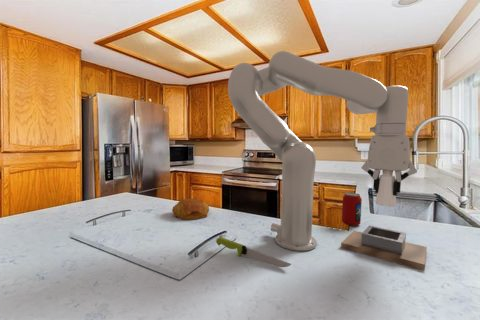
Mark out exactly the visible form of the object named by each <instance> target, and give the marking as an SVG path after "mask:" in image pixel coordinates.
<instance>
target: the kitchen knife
mask: <svg viewBox="0 0 480 320" xmlns="http://www.w3.org/2000/svg"><path fill="white" fill-rule="evenodd" d="M215 243H216V244H217V245H218V246H220V245H222V246H224V247H225V248H227V249H230V250H236V251H237V257H245V258H248V259H251V260H254V261H258V262H260V263H264V264H266V265H271V266H273V267H276V268H278V267H279V268H287V267H290V266H291V265H292V263H290V262H288V261H284V260H282V259H279V258H277V257H276V258H275V257H273V256H270V255H267V254H265V253H262V252H259V251H256V250H255V249H252V248H249V247H247V246H246V245H243V244H241V243H239V242H236V241H234V240H233V241H232V240H230V239H227V238H226V237H222V236H221V237H220V236H219V237H218V238H216V241H215Z"/></svg>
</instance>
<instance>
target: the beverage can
mask: <svg viewBox="0 0 480 320" xmlns="http://www.w3.org/2000/svg"><path fill="white" fill-rule="evenodd" d="M362 201H363V200H362V196H361V195H360V194H359V193H356V192H345V193H344V195H343V196H342V205H341V207H342V209H341V222H342V223H343V224H345V225H347V226H351V227H357V226H359V225H361V221H362V217H361V216H362Z"/></svg>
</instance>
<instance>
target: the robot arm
mask: <svg viewBox="0 0 480 320" xmlns="http://www.w3.org/2000/svg"><path fill="white" fill-rule="evenodd" d="M287 86H290V87H293V88H294V89H297V90H299V91H302V92H304V93H306V94H309V95H312V96H331V97H336V98H340V99H342V100H346V108H347V110H348V111H349V112H351V113H352V114H355V115H367V114H376V115H375V125H374V126H373V127H369V132H370V133H374V135H371V137H370V142H369V147H368V152H367V153H368V155H367V159H366V161H365V162H364V164H363V165H362V166H361V169H362V170H363V171H365V172H366V173H367V174H368V175H369V176H370V177H371V178H372V179H373V185H372V186H373V187H372V189H373V190H374V193H375V194H377V193H378V189H379V181H380V175H381V171H382V170H390V171H393V172H394V176H395V182H394V189H393V195H394V196H396V197H397V196H398V194H399V193H401V186H402V181H404V180H405V179H406V178H408V177H410V176H412V175H414V174H417V173H418V170H417V168H416V166H414V164H413V163H412V161H411V145H410V144H411V143H410V138H409V137H410V136H409V135H406V134H407V119H408V103H409V89H408V87H407V86H403V85H390V86H385V85H383V83H381V82H380V81H378V80H377V79H374V78H372V77H370V76H367V75H364V74H362V73H359V72H357V71H352V70H349V69H342V68H340V69H339V68H335V67H329V66H328V67H327V66H324V65H320V64H318V63H315V62H314V61H311V60H309V59H306V58H303V57H301V56H300V55H297V54H294V53H291V52H289V51H285V50H282V51H277V52H276V53H274V54H273V55H272V56H271V57H270V59H269V62H268V66H267V67H265V68H262V69H260V70H258V69H257V68H256V67H255V66H254V65H252V64H251V63H248V62H241V63H238V64H236V66H235V67H233V69H232V70H231V72H230V74H229V78H228V83H227V92H228V98H229V100H230V103H231V106H232V107H233V110H235V112H236V114H238V116H240V118H241V119H242V120H243V121H244V122H245V123H246V124H247V125H248V127H249V128H250V129H251V130H252V131H253V132H254V134H256V136H258V138H259V139H260V141H261V142H262V143H263V144H264V145H265V146H267V147H268V148H269V149H270V150H271V151H272V152H273V153H274V155H275V156H277V158H279V160H280V161H281V163H282V164H281V165H282V166H281V167H282V169H281V172H282V173H281V201H280V202H281V204H280V205H281V207H280V208H281V209H280V224H278V223H274V222H273V223H271V225H270V231H272V232H276V233H277V234H276V235H275V239H274V240H275V243H276V244H277V245H278V246H280V247H282V248H284V249H286V250H292V251H298V252H299V251H301V252H302V251H311V250H313V249H315V248H316V247H317V245H318V244H317V240H316V238H314V237H313V236H312V235H313V233H312V232H313V211H314V210H313V209H314V208H313V207H314V186H315V185H314V184H315V183H314V182H315V173H316V165H317V164H316V163H317V159H316V153H315V150H314V149H313V148H312V146H311V145H310V144H308V143H307V142H304V141H302V140H301V139H299V137H298V136H297V135H296V134H295V133H294V132H293V131H292V130H291V129H290V128H289V126H288V124H287V123H286V122H285V120H283V119H282V118H281V117H279V115H278V114H277V113H276V112H275V111H273V110H272V109H271V108H270V107H269V105H267V103H266V102H265V101H264V100H263V99H262V98H261V96H264V95H266V94H269V93H273V92H275V91H278V90H280V89H283V88H285V87H287ZM406 170H408V171H406ZM404 171H406V172H404ZM403 172H404V173H403Z"/></svg>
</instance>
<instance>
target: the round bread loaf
mask: <svg viewBox="0 0 480 320" xmlns="http://www.w3.org/2000/svg"><path fill="white" fill-rule="evenodd" d="M171 211H172V213H173V216H174V217H176V218H178V219H181V220H187V221H188V220H199V219H202V218H206V217H208V213H209V212H210V208H209V205H208V204H207V203H206V202H205V201H203V200H202V199H200V198H187V199H181V200H179V201H178V202H177V203H176V204H175V205H174V206H173V207H172V210H171Z"/></svg>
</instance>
